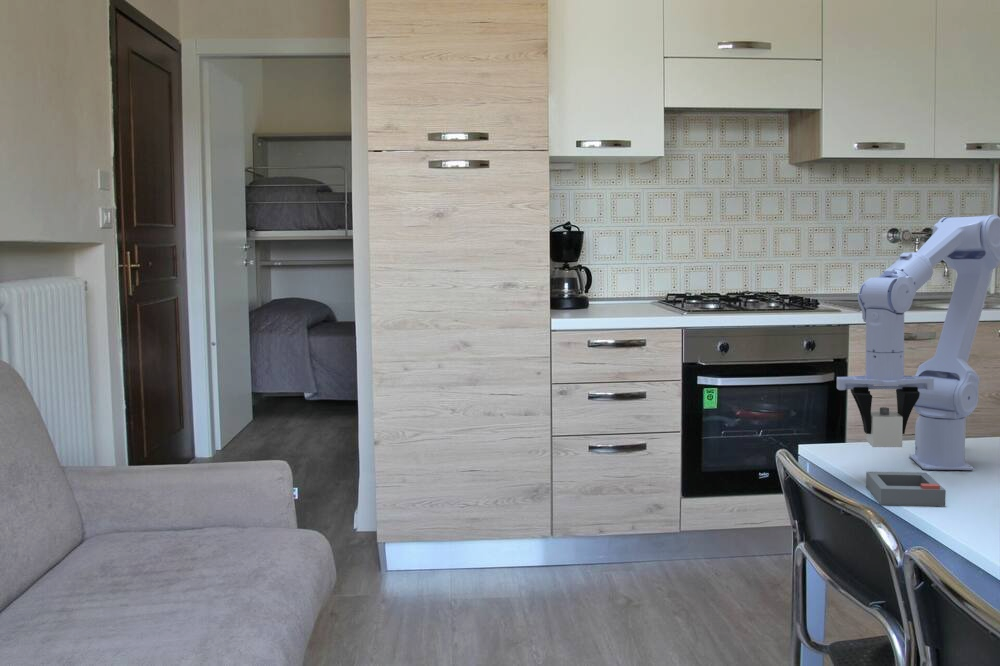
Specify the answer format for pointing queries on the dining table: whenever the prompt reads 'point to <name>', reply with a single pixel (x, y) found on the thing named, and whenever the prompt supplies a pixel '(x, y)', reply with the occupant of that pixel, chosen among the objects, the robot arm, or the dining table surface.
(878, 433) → the plug
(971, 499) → the dining table surface
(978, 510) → the dining table surface
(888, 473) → the socket plate
